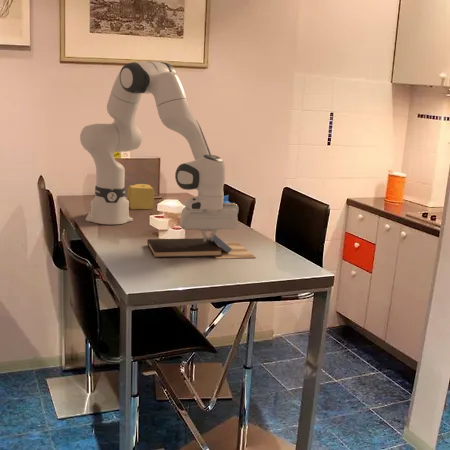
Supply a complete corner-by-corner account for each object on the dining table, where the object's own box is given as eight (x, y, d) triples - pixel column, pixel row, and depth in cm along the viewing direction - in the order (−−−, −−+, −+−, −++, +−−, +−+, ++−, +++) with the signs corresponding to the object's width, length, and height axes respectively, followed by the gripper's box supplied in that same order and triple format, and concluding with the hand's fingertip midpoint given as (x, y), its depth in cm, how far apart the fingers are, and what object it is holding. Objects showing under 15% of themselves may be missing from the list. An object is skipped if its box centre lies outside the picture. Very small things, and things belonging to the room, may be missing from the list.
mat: (201, 243, 222) (201, 242, 222) (237, 242, 226) (237, 241, 226) (216, 258, 203) (216, 258, 203) (255, 258, 208) (255, 257, 207)
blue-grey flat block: (209, 236, 216) (212, 232, 216) (221, 246, 218) (224, 242, 218) (215, 243, 207) (219, 238, 207) (228, 253, 210) (231, 249, 210)
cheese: (126, 204, 279) (127, 183, 276) (149, 205, 282) (150, 183, 280) (129, 209, 269) (130, 187, 267) (153, 209, 272) (154, 187, 270)
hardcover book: (221, 256, 205) (222, 249, 205) (154, 258, 199) (154, 251, 199) (210, 243, 220) (210, 237, 220) (147, 245, 214) (147, 238, 214)
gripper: (236, 201, 214) (233, 238, 218) (179, 200, 208) (177, 239, 211) (241, 204, 209) (238, 243, 212) (184, 204, 202) (181, 244, 206)
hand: (207, 241), depth 211 cm, fingers closed
